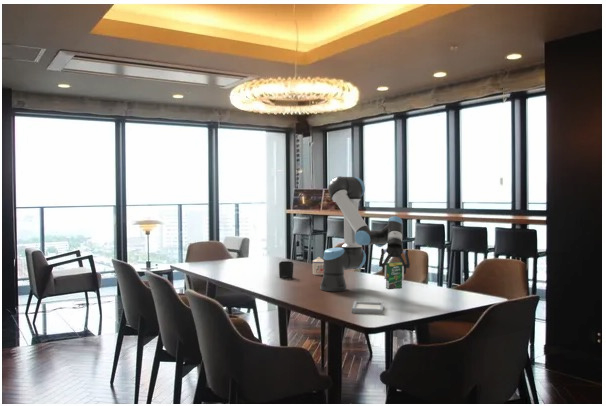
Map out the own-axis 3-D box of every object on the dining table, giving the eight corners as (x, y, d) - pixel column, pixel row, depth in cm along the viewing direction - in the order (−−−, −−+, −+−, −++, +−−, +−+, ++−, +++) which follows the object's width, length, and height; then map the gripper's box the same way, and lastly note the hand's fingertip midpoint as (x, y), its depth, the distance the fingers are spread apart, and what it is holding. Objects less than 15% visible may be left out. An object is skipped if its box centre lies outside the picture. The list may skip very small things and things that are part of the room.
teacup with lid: (316, 275, 346) (316, 258, 345) (309, 273, 354) (310, 256, 353) (331, 274, 351) (331, 257, 351) (325, 272, 359) (325, 255, 359)
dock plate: (351, 312, 237) (351, 308, 237) (354, 305, 253) (354, 301, 252) (382, 314, 234) (382, 309, 234) (383, 307, 250) (383, 302, 250)
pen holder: (275, 277, 336) (276, 262, 336) (286, 275, 343) (286, 260, 342) (286, 279, 329) (286, 263, 329) (296, 277, 336) (296, 262, 336)
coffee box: (388, 289, 252) (389, 263, 252) (385, 288, 255) (386, 262, 254) (402, 288, 256) (403, 262, 255) (398, 287, 258) (399, 261, 258)
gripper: (374, 236, 268) (372, 272, 252) (415, 238, 264) (415, 274, 249) (374, 245, 273) (372, 281, 258) (414, 247, 270) (415, 283, 254)
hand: (394, 277), depth 253 cm, fingers closed on coffee box, 8 cm apart
